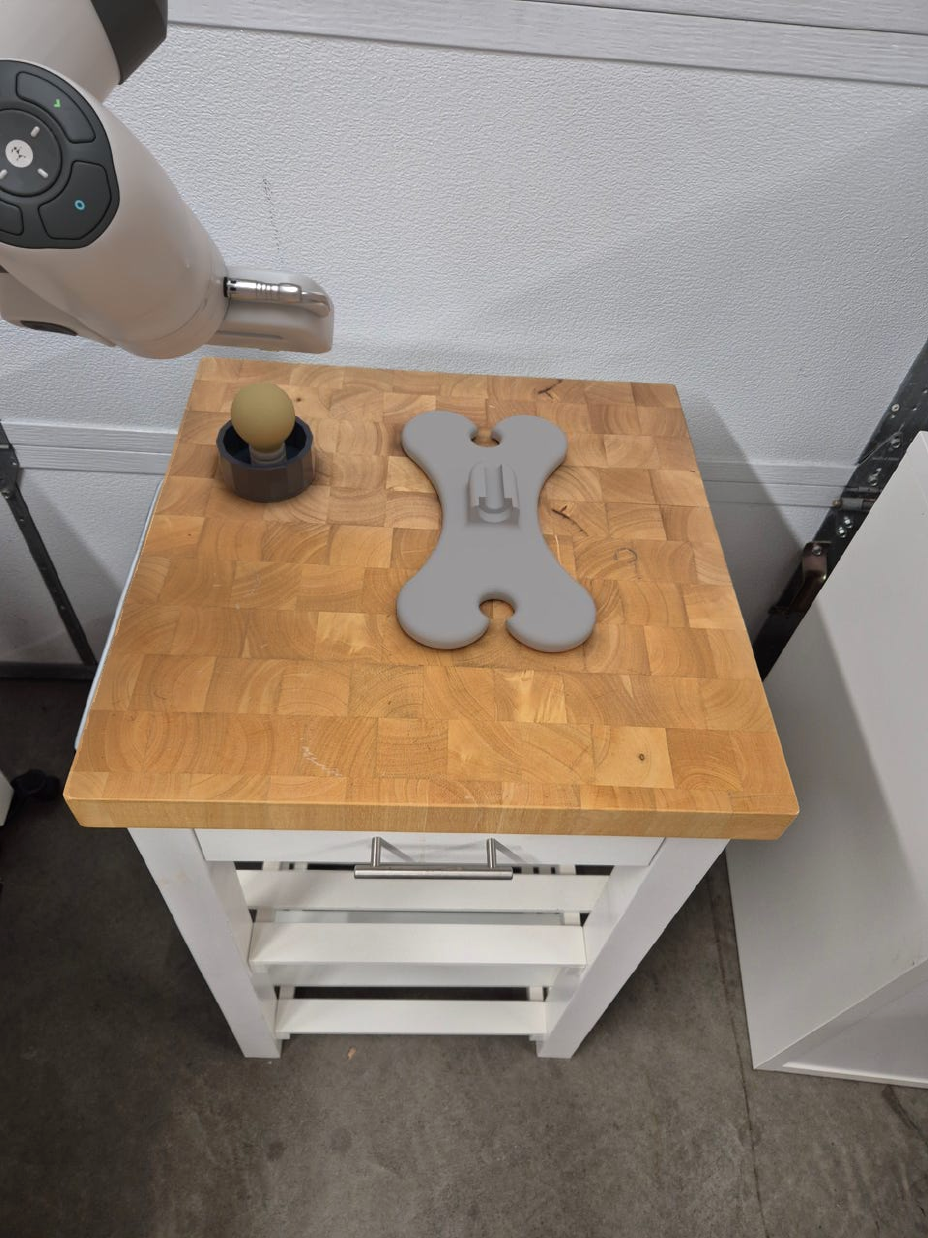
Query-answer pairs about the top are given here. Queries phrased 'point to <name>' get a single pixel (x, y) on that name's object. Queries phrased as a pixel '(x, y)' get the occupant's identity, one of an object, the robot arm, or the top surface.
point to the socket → (267, 479)
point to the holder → (491, 537)
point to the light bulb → (263, 421)
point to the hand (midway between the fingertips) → (208, 334)
